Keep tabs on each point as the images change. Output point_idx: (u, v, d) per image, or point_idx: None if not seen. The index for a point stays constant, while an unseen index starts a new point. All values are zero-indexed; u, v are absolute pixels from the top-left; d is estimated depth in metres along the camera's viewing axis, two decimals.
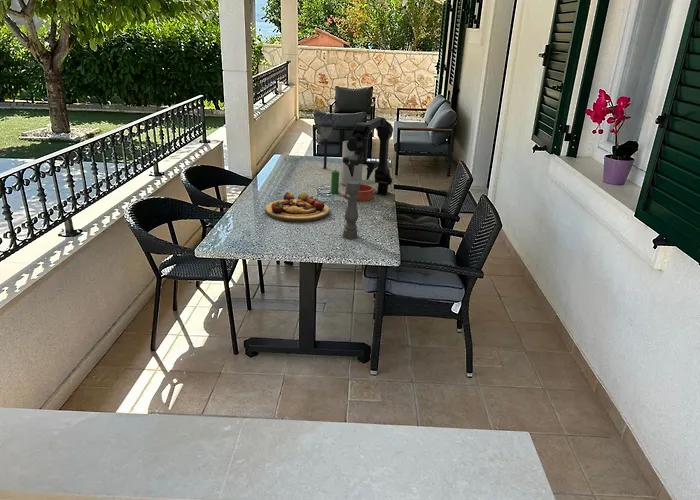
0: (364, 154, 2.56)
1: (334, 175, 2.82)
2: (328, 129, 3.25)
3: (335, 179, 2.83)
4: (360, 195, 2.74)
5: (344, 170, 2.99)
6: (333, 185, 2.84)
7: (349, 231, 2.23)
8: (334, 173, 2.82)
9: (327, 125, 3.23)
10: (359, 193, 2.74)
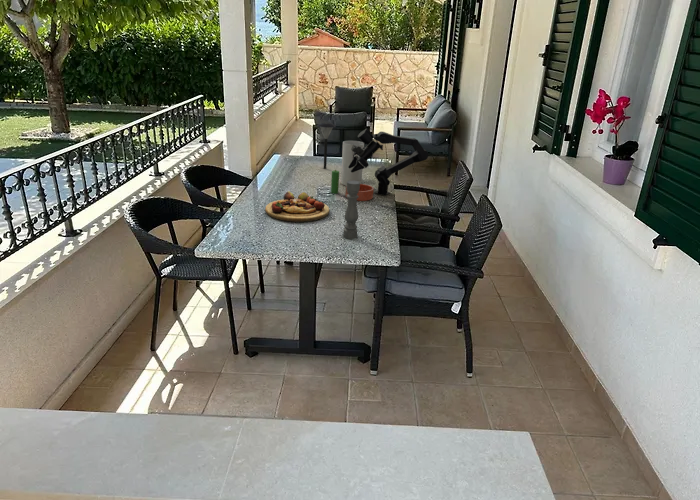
0: (366, 152, 2.78)
1: (334, 175, 2.82)
2: (328, 129, 3.25)
3: (335, 179, 2.83)
4: (360, 195, 2.74)
5: (344, 170, 2.99)
6: (333, 185, 2.84)
7: (349, 231, 2.23)
8: (334, 173, 2.82)
9: (327, 125, 3.23)
10: (359, 193, 2.74)
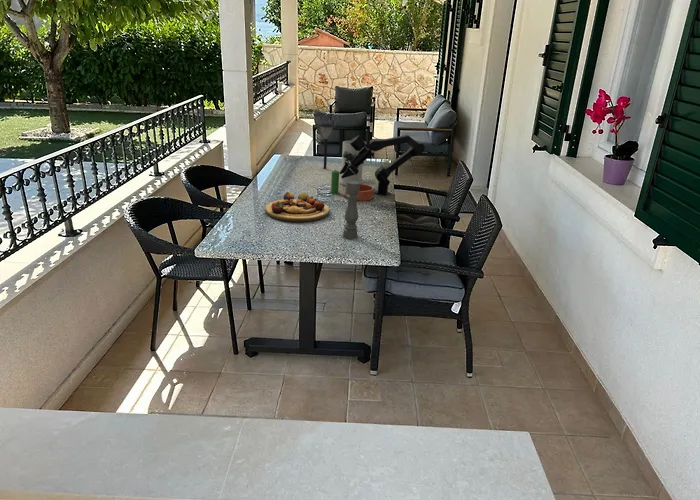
0: (357, 159, 2.79)
1: (334, 175, 2.82)
2: (328, 129, 3.25)
3: (335, 179, 2.83)
4: (360, 195, 2.74)
5: None
6: (333, 185, 2.84)
7: (349, 231, 2.23)
8: (334, 173, 2.82)
9: (327, 125, 3.23)
10: (359, 193, 2.74)
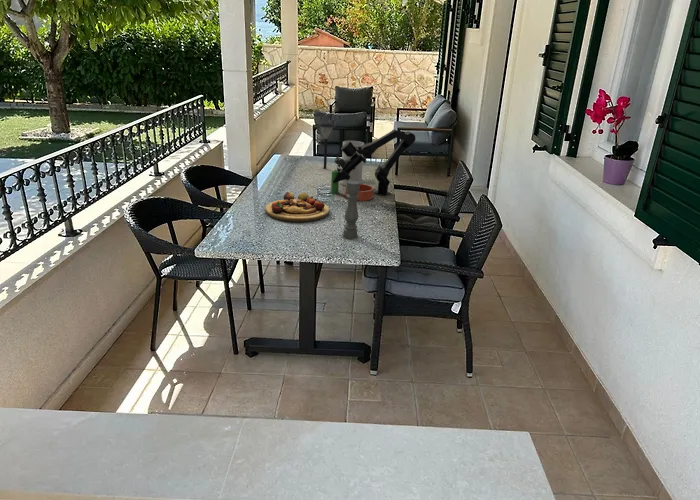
0: (348, 165, 2.80)
1: (334, 175, 2.82)
2: (328, 129, 3.25)
3: None
4: (360, 195, 2.74)
5: None
6: (333, 185, 2.84)
7: (349, 231, 2.23)
8: (334, 173, 2.82)
9: (327, 125, 3.23)
10: (359, 193, 2.74)
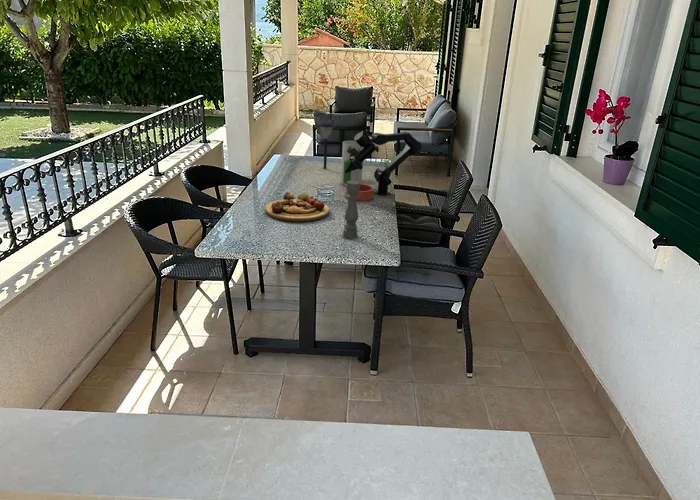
0: (361, 154, 2.75)
1: (346, 165, 2.77)
2: (328, 129, 3.25)
3: None
4: (360, 195, 2.74)
5: None
6: (345, 175, 2.79)
7: (349, 231, 2.23)
8: (346, 163, 2.77)
9: (327, 125, 3.23)
10: (359, 193, 2.74)
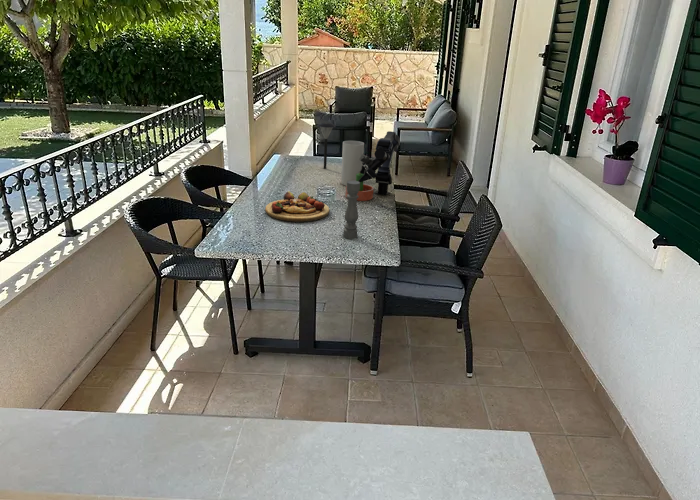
0: (374, 163, 2.74)
1: (358, 178, 2.77)
2: (328, 129, 3.25)
3: (360, 182, 2.77)
4: (360, 195, 2.74)
5: (344, 170, 2.99)
6: None
7: (349, 231, 2.23)
8: (358, 176, 2.76)
9: (327, 125, 3.23)
10: (359, 193, 2.74)
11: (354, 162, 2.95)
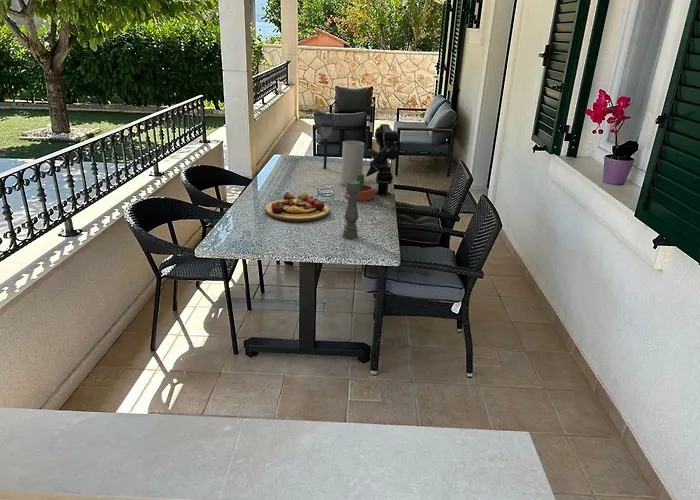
0: (380, 155, 2.71)
1: (359, 178, 2.77)
2: (328, 129, 3.25)
3: (360, 182, 2.77)
4: (360, 195, 2.74)
5: (344, 170, 2.99)
6: None
7: (349, 231, 2.23)
8: (359, 176, 2.76)
9: (327, 125, 3.23)
10: (359, 193, 2.74)
11: (354, 162, 2.95)
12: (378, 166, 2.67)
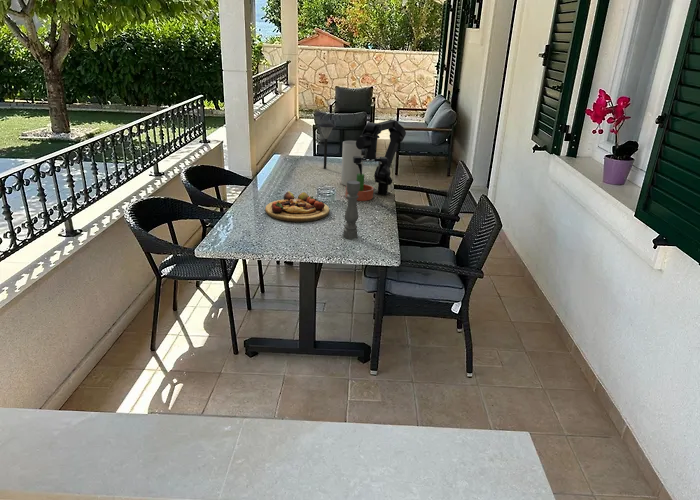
0: None
1: (359, 178, 2.77)
2: (328, 129, 3.25)
3: (360, 182, 2.77)
4: (360, 195, 2.74)
5: (344, 170, 2.99)
6: None
7: (349, 231, 2.23)
8: (359, 176, 2.76)
9: (327, 125, 3.23)
10: (359, 193, 2.74)
11: None
12: (353, 159, 2.70)
